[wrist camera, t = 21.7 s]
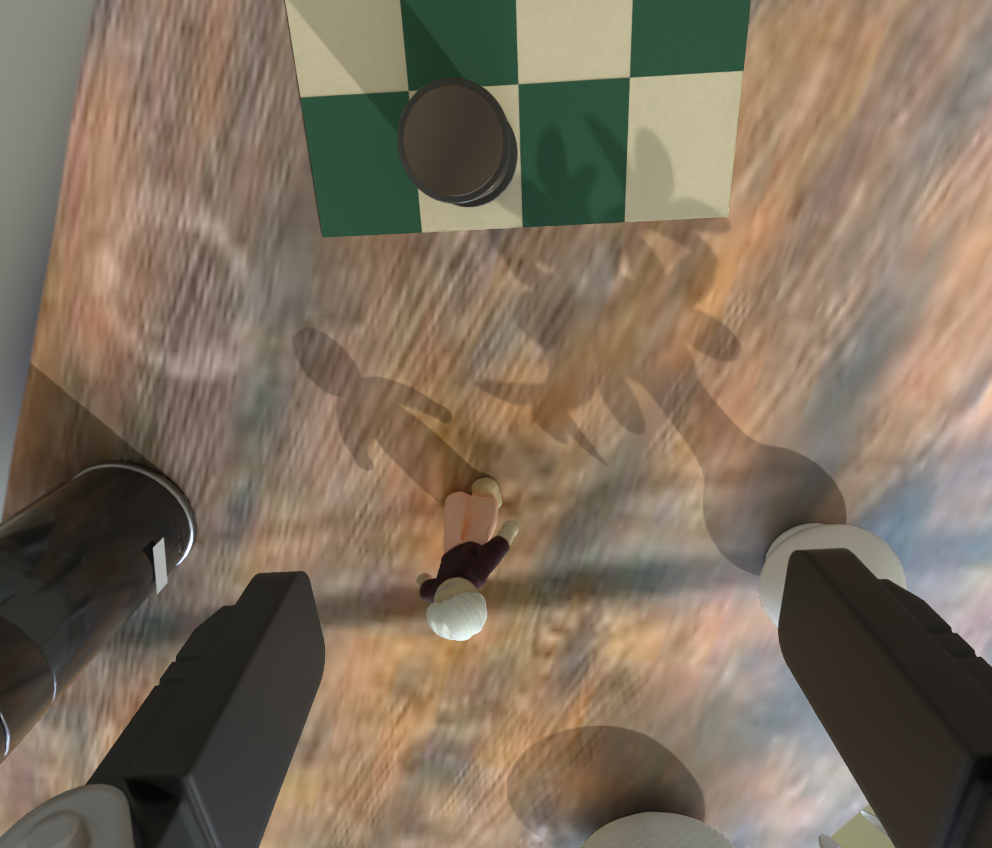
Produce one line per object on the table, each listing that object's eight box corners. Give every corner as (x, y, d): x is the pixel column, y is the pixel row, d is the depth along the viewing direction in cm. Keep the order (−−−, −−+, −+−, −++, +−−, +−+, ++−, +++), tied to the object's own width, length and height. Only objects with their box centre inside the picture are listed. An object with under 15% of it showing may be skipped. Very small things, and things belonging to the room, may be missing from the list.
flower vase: (673, 631, 45) (843, 1097, 22) (791, 432, 38) (1220, 808, 15) (817, 673, 46) (1121, 1153, 23) (956, 488, 39) (1585, 910, 16)
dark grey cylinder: (427, 209, 33) (393, 217, 24) (417, 104, 31) (377, 67, 21) (518, 204, 33) (522, 211, 23) (515, 98, 31) (518, 58, 21)
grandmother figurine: (484, 455, 39) (473, 568, 28) (524, 488, 40) (530, 611, 29) (415, 523, 42) (377, 654, 30) (454, 552, 43) (432, 691, 31)
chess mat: (323, 237, 34) (322, 237, 34) (242, -274, 25) (240, -276, 25) (727, 216, 33) (728, 216, 33) (782, -321, 24) (784, -324, 24)
